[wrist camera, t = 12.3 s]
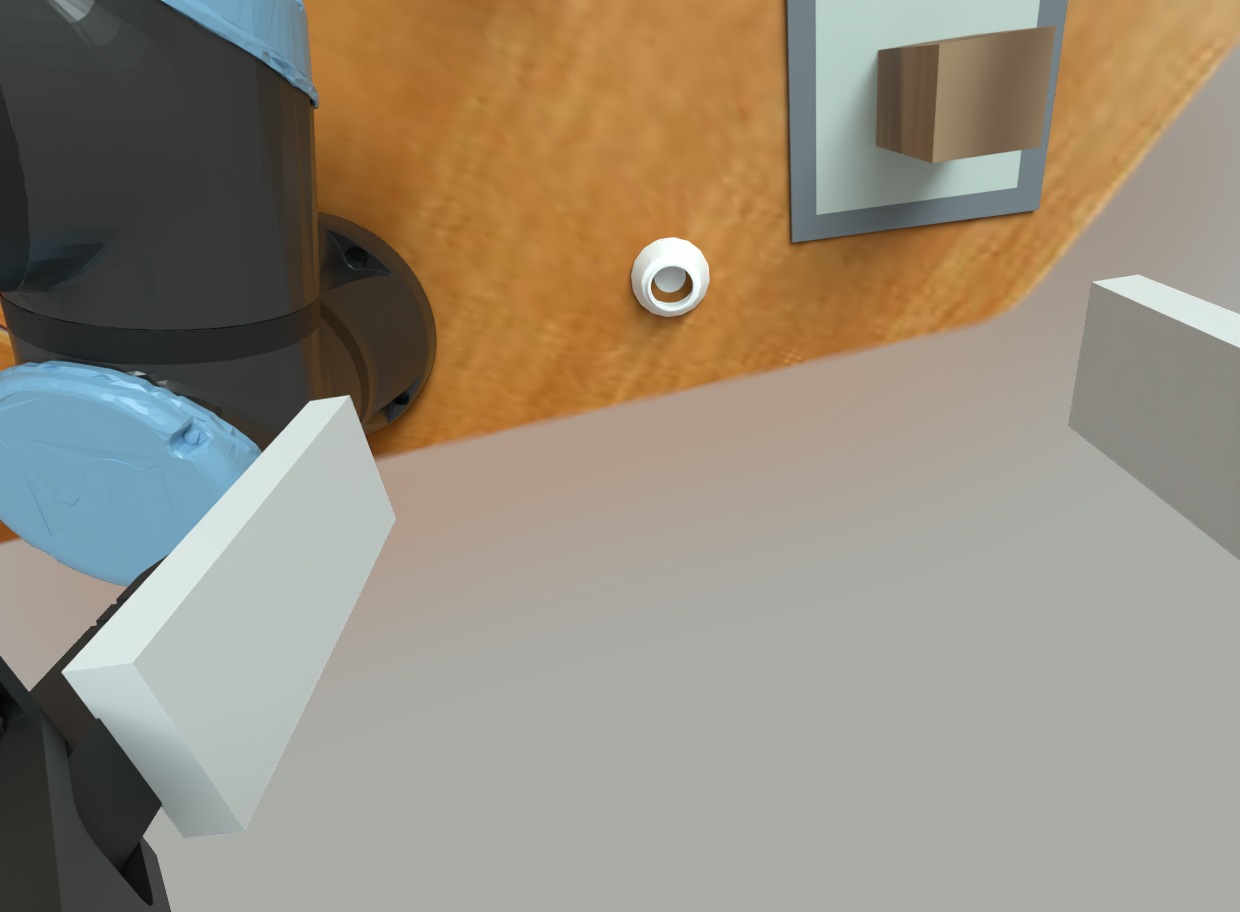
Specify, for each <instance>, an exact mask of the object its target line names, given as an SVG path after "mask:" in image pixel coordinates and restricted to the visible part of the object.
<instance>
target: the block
mask: <svg viewBox="0 0 1240 912" xmlns="http://www.w3.org/2000/svg"><path fill="white" fill-rule="evenodd" d="M1055 29H1056V25H1055V26H1046V27H1037V28H1028V29H1019V30H1010V31H1001V32H993V33H984V34H975V35H967V36H961V37H955V38H949V39H943V40H937V41H930V42H924V43H918V44H912V45H906V46H900V47H894V48H887V49H881V50H878V87H877V127H876V146H877V147H880V148H884V149H887V150H890V151H894V152H897V153H900V154H903V155H907V156H910V157H913V158H917V159H920V160H923V161H927V162H930V163H937V162H944V161H951V160H958V159H964V158H971V157H978V156H985V155H991V154H998V153H1005V152H1012V151H1018V150H1025V149H1032V148H1039V147H1041V139H1042V131H1043V123H1044V115H1045V107H1046V100H1047V92H1048V84H1049V76H1050V68H1051V60H1052V52H1053V45H1054V37H1055Z"/></svg>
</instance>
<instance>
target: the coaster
mask: <svg viewBox="0 0 1240 912" xmlns="http://www.w3.org/2000/svg"><path fill="white" fill-rule="evenodd" d="M1067 3H1068V0H786V11H787V59H788V107H789V155H790V204H791V242H792V243H794V242H801V241H809V240H816V239H824V238H831V237H839V236H846V235H854V234H861V233H869V232H876V231H883V230H891V229H898V228H906V227H913V226H921V225H928V224H936V223H943V222H951V221H958V220H966V219H973V218H981V217H988V216H996V215H1003V214H1011V213H1018V212H1026V211H1033V210H1039V205H1040V197H1041V190H1042V183H1043V176H1044V169H1045V162H1046V154H1047V147H1048V140H1049V133H1050V126H1051V118H1052V111H1053V104H1054V97H1055V90H1056V82H1057V75H1058V68H1059V61H1060V54H1061V46H1062V39H1063V32H1064V25H1065V18H1066V11H1067ZM1055 25H1056V29H1055V37H1054V45H1053V52H1052V60H1051V68H1050V76H1049V84H1048V92H1047V100H1046V107H1045V115H1044V123H1043V131H1042V139H1041V147H1039V148H1032V149H1025V150H1018V151H1012V152H1005V153H998V154H991V155H985V156H978V157H971V158H964V159H958V160H951V161H944V162H937V163H930V162H927V161H923V160H920V159H917V158H913V157H910V156H907V155H903V154H900V153H897V152H894V151H890V150H887V149H884V148H880V147H877V146H876V127H877V87H878V50H881V49H887V48H894V47H900V46H906V45H912V44H918V43H924V42H930V41H937V40H943V39H949V38H955V37H961V36H967V35H975V34H984V33H993V32H1001V31H1010V30H1019V29H1028V28H1037V27H1046V26H1055Z"/></svg>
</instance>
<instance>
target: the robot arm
mask: <svg viewBox="0 0 1240 912" xmlns="http://www.w3.org/2000/svg"><path fill="white" fill-rule="evenodd" d="M317 108H319V97H318V92H317V90H316V89H315V87H314V86H313V84H312V72H311V59H310V47H309V34H308V22H307V14H306V11H305V7H304V4H303V1H302V0H0V301H1V305H2V309H3V313H4V317H5V321H6V324H7V329H8V334H9V337H10V341H11V345H12V349H13V353H14V357H15V362H16V366H11V367H9V368H7V369H5V370H3V371H1V372H0V520H1V521H2V522H3V523H4V524H5V525H6V526H8V527H9V528H10V529H11V530H12V531H14V532H15V533H16V534H18V535H19V536H20V537H21V538H22V539H24V540H25V541H26V542H27V543H29V544H30V545H32V546H33V547H36V548H38V549H40V550H42V551H44V552H46V553H48V554H49V555H50V556H52V557H53V558H55V559H56V560H57V561H59V562H60V563H62V564H64V565H66V566H68V567H70V568H72V569H74V570H76V571H79V572H81V573H84V574H86V575H89V576H91V577H94V578H97V579H100V580H103V581H106V582H109V583H114V584H117V585H121V586H126V587H127V589H126V590H125V591H124V592H123V593H122V594H121V595H120V596H119V597H118V598H117V604H113V605H111V606H110V607H109V608H108V609H107V610H106V611H105V612H104V613H103V614H102V615H101V616H100V617H99V619H97V620H96V622H97V625H96V626H91V627H90V628H89V629H88V630H87V631H86V632H85V633H84V634H83V635H82V636H81V638H80V639H79V640H78V641H77V642H76V643H75V644H74V645H73V646H72V647H71V648H70V649H69V650H68V651H67V652H66V654H65V655H64V656H63V657H62V658H61V659H60V660H59V661H58V662H57V663H56V664H55V665H54V666H53V667H52V668H51V669H50V671H49V672H48V673H47V674H46V675H45V676H44V677H43V678H42V679H41V680H40V681H39V682H38V683H37V684H36V686H34V688H33V689H32V690H31V691H30V692H28V690H27V689H26V688H25V687H24V685H23V684H22V683H21V681H20V680H19V679H18V678H17V676H16V675H15V674H14V672H13V671H12V670H11V669H10V667H9V666H8V665H7V664H6V662H5V661H4V660H3V659H2V657H1V656H0V912H171V910H170V906H169V902H168V898H167V894H166V890H165V887H164V883H163V879H162V875H161V871H160V867H159V863H158V859H157V855H156V854H155V852H154V851H153V850H152V848H151V847H150V846H149V845H148V843H147V842H146V840H145V839H144V838H143V837H142V836H143V834H144V833H145V831H146V830H147V828H148V827H149V825H150V823H151V821H152V820H153V818H154V817H155V815H156V813H157V812H158V810H159V809H160V807H162V808H163V810H164V811H165V813H166V814H167V815H168V817H169V818H170V819H171V821H172V822H173V823H174V825H175V826H176V828H177V829H178V830H179V832H180V833H181V834H182V836H183V837H184V838H187V837H196V836H206V835H214V834H224V833H232V832H242V831H245V830H246V828H247V826H248V824H249V822H250V820H251V818H252V816H253V813H254V812H255V809H256V807H257V805H258V803H259V801H260V799H261V797H262V795H263V793H264V791H265V789H266V787H267V785H268V783H269V780H270V779H271V776H272V774H273V772H274V770H275V768H276V766H277V764H278V762H279V760H280V758H281V756H282V754H283V752H284V750H285V747H286V746H287V743H288V741H289V739H290V737H291V735H292V733H293V731H294V729H295V727H296V725H297V723H298V721H299V719H300V717H301V714H302V712H303V710H304V708H305V706H306V704H307V702H308V700H309V698H310V696H311V694H312V692H313V690H314V688H315V686H316V684H317V682H318V679H319V677H320V675H321V673H322V671H323V669H324V667H325V665H326V663H327V661H328V659H329V657H330V655H331V653H332V651H333V649H334V646H335V644H336V642H337V640H338V638H339V636H340V634H341V632H342V630H343V628H344V626H345V624H346V622H347V620H348V618H349V615H350V613H351V611H352V609H353V607H354V605H355V603H356V601H357V599H358V597H359V595H360V593H361V591H362V588H363V586H364V585H365V582H366V580H367V578H368V576H369V574H370V572H371V570H372V568H373V566H374V564H375V562H376V560H377V558H378V556H379V554H380V551H381V549H382V547H383V545H384V543H385V541H386V539H387V537H388V535H389V533H390V530H391V529H392V526H393V525H394V523H395V521H396V517H395V515H394V512H393V509H392V507H391V504H390V501H389V499H388V496H387V494H386V491H385V488H384V486H383V483H382V480H381V477H380V475H379V472H378V469H377V467H376V464H375V461H374V459H373V456H372V453H371V451H370V448H369V445H368V442H367V440H366V437H365V435H368V434H370V433H373V432H375V431H378V430H380V429H382V428H384V427H385V426H387V425H389V424H390V423H392V422H393V421H394V420H396V419H397V418H398V417H399V416H401V415H402V414H403V413H404V412H405V411H406V410H407V409H408V408H409V406H410V405H411V404H412V403H413V401H414V400H415V398H416V397H417V395H418V394H419V393H420V391H421V390H422V388H423V387H424V385H425V383H426V381H427V379H428V377H429V375H430V372H431V369H432V366H433V362H434V358H435V351H436V330H435V323H434V318H433V314H432V310H431V307H430V304H429V301H428V299H427V296H426V294H425V292H424V290H423V288H422V286H421V284H420V282H419V281H418V279H417V278H416V276H415V274H414V273H413V272H412V270H411V269H410V267H409V266H408V265H407V264H406V263H405V261H404V260H403V259H402V258H401V257H400V256H399V255H398V254H397V253H396V252H395V251H394V250H393V249H392V248H391V247H390V246H389V245H388V244H386V243H385V242H384V241H383V240H381V239H380V238H379V237H377V236H376V235H374V234H373V233H371V232H370V231H368V230H366V229H365V228H363V227H361V226H359V225H357V224H355V223H352V222H350V221H348V220H345V219H342V218H340V217H336V216H333V215H329V214H325V213H319V212H318V210H317V185H316V160H315V135H314V110H313V109H317ZM1068 426H1069V427H1071V428H1072V429H1073V430H1074V431H1076V432H1077V433H1078V434H1080V435H1081V436H1082V437H1083V438H1085V439H1086V440H1087V441H1088V442H1090V443H1091V444H1092V445H1093V446H1095V447H1096V448H1097V449H1099V450H1100V451H1101V452H1103V453H1104V454H1105V455H1106V456H1107V457H1109V458H1110V459H1111V460H1113V461H1114V462H1115V463H1116V464H1118V465H1119V466H1120V467H1121V468H1123V469H1124V470H1125V471H1127V472H1128V473H1129V474H1130V475H1132V476H1133V477H1134V478H1135V479H1137V480H1138V481H1139V482H1141V483H1142V484H1143V485H1144V486H1146V487H1147V488H1148V489H1150V490H1151V491H1152V492H1153V493H1155V494H1156V495H1157V496H1158V497H1160V498H1161V499H1162V500H1164V501H1165V502H1166V503H1167V504H1169V505H1170V506H1171V507H1172V508H1174V509H1175V510H1176V511H1178V512H1179V513H1180V514H1181V515H1183V516H1184V517H1186V519H1188V520H1189V521H1190V522H1192V523H1193V524H1194V525H1196V526H1197V527H1198V528H1199V529H1200V530H1202V531H1203V532H1204V533H1206V534H1207V535H1208V536H1209V537H1211V538H1212V539H1214V541H1216V542H1217V543H1218V544H1220V545H1221V546H1222V547H1223V548H1225V549H1226V550H1227V551H1229V552H1230V553H1231V554H1232V555H1234V556H1235V557H1236V558H1237V559H1239V560H1240V314H1237V313H1235V312H1232V311H1229V310H1227V309H1224V308H1222V307H1219V306H1217V305H1214V304H1212V303H1209V302H1206V301H1204V300H1201V299H1199V298H1196V297H1194V296H1191V295H1189V294H1186V293H1184V292H1181V291H1178V290H1176V289H1173V288H1171V287H1168V286H1166V285H1163V284H1161V283H1158V282H1155V281H1153V280H1150V279H1148V278H1145V277H1143V276H1140V275H1134V276H1128V277H1121V278H1114V279H1108V280H1101V281H1095V282H1092V283H1091V290H1090V295H1089V301H1088V308H1087V314H1086V320H1085V326H1084V332H1083V338H1082V344H1081V351H1080V356H1079V362H1078V368H1077V374H1076V381H1075V387H1074V393H1073V399H1072V405H1071V411H1070V417H1069V423H1068Z"/></svg>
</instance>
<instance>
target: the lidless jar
mask: <svg viewBox="0 0 1240 912" xmlns="http://www.w3.org/2000/svg"><path fill="white" fill-rule="evenodd" d="M685 270H686V271H687V272H688V273H689V275H690V276H691V278H692V282H693V287H692V291H691V293H690V294H689V295H688V296H687V297H686V298H684V299H682V300H680V301H679V302H673V303H665V302H661V301H657V300H656V299H655V298H654V296H653V295H652V292H651V282H652V279H653V277H654V281H655V284H656V285H657V287H658V288H659V289H660V290H662V291H664V292H674V291H677V290H679V289H680V288H681V287H682V286H683V284H684V282H685V278H686V274H685ZM631 280H632V287H633V292H634V294H635V296H636V297H637V299H638V301H639V302H640V304H641V305H642V306H643V307H645V308H646V309H647V310H649V311H650V312H651V313H653V314H657V315H661V316H665V317H671V316H678V315H683V314H685V313H686V312H688V311H690V310H692V309H694V308H695V307H696V306H697V305H698V304H699V302H700V301H701V300H702V299H703V297H704V296H705V294H706V291H707V288H708V285H709V281H710V280H709V268H708V264H707V262H706V260H705V258H704V256H703V254H702V252H701V251H700V250H699V249H698V248H696V247H695V246H694V245H693V244H691V243H690V242H689V241H686V240H682V239H678V238H674V237H672V238H665V239H658V240H656V241H655V242H653V243H651V244H650V245H648V246H646V247H645V248H644V249H643V250H642V251H641V253H640V254H639V255H638V257H637V258H636V259H635V262H634V266H633V270H632V273H631Z"/></svg>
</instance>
